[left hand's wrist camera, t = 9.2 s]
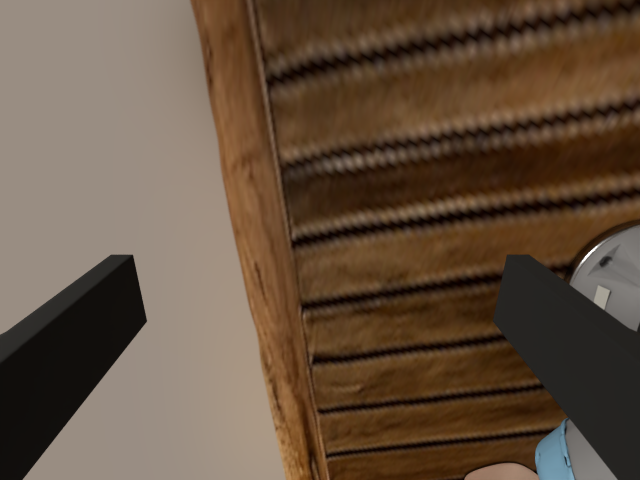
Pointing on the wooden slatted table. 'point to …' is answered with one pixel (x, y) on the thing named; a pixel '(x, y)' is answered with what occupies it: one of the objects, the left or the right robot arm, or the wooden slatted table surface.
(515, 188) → the wooden slatted table surface
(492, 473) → the anatomical model
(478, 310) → the wooden slatted table surface
